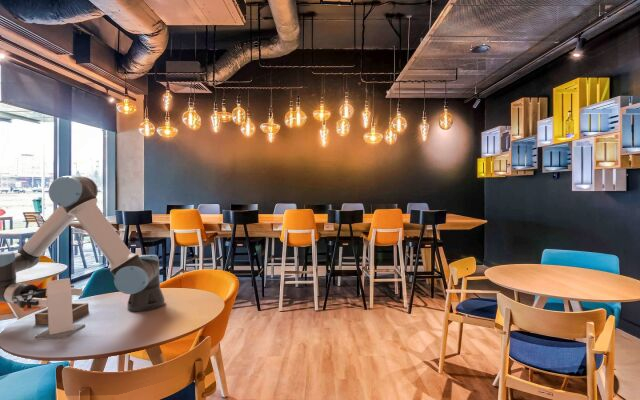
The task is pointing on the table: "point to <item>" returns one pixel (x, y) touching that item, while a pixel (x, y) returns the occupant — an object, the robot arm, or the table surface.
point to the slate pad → (60, 335)
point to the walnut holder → (77, 312)
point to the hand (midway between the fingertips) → (65, 297)
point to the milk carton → (59, 306)
